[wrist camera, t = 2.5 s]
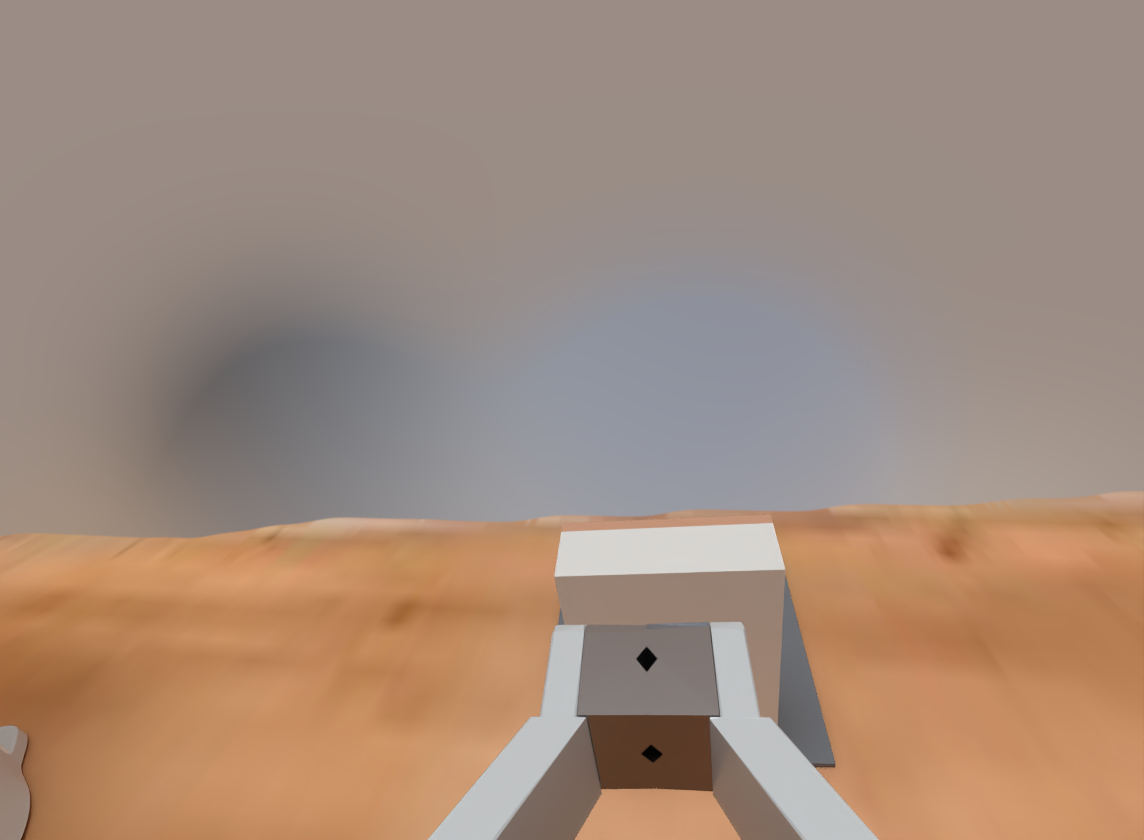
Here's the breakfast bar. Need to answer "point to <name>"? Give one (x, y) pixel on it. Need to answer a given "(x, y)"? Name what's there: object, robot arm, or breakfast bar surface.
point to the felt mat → (797, 693)
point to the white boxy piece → (680, 581)
